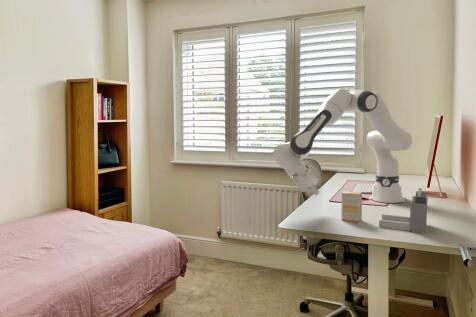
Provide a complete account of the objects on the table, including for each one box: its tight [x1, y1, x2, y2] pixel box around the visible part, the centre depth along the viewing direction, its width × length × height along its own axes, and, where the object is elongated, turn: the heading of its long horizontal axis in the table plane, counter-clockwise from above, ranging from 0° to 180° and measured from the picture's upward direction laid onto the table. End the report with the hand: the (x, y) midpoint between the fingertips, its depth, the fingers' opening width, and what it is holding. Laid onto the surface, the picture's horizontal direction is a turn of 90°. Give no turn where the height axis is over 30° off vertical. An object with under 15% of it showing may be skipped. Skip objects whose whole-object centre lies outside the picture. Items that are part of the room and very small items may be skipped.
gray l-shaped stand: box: [378, 187, 429, 234], centre depth 160 cm, size 14×18×16 cm
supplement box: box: [341, 190, 363, 223], centre depth 170 cm, size 8×5×13 cm, turn 59°
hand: (317, 194), depth 177 cm, fingers closed
